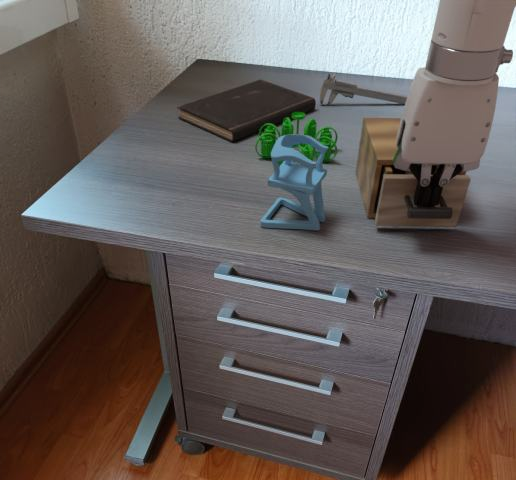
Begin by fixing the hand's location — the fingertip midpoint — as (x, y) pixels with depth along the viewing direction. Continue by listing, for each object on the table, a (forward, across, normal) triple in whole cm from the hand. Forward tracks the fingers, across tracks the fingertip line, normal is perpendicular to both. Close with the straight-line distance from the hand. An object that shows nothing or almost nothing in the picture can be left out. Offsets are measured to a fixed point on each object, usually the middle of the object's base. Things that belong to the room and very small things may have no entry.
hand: (423, 209), depth 71 cm
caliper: (+5, 0, -50) cm, 51 cm away
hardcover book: (+5, +25, -45) cm, 51 cm away
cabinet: (+5, 0, -12) cm, 13 cm away
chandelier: (+5, +16, -27) cm, 31 cm away
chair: (+5, +17, -5) cm, 18 cm away
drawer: (+4, 0, -6) cm, 7 cm away
